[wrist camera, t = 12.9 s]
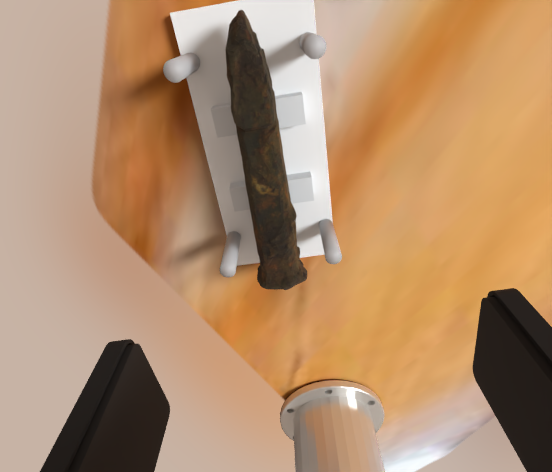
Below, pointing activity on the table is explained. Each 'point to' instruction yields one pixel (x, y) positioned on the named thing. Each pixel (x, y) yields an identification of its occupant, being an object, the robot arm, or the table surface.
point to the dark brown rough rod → (262, 158)
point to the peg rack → (290, 111)
